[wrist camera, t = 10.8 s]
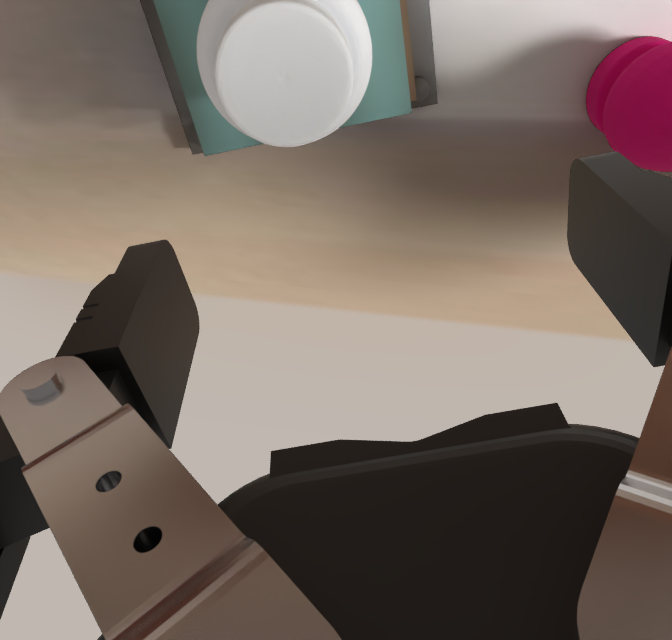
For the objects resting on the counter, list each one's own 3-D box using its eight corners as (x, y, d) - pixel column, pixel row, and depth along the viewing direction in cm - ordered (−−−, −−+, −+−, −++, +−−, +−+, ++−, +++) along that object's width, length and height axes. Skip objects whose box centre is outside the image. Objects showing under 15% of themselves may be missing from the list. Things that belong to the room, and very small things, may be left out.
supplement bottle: (208, 63, 26) (167, 143, 17) (236, -83, 23) (204, -71, 14) (329, 103, 27) (345, 195, 19) (371, -31, 24) (413, 8, 16)
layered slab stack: (405, -233, 29) (458, -293, 20) (433, 98, 38) (478, 160, 29) (92, -157, 30) (5, -180, 21) (195, 148, 39) (166, 224, 30)
